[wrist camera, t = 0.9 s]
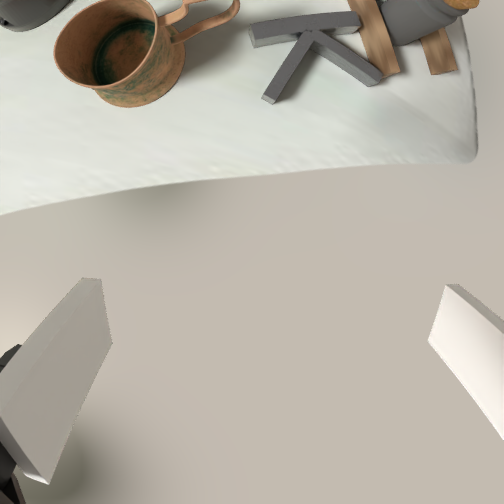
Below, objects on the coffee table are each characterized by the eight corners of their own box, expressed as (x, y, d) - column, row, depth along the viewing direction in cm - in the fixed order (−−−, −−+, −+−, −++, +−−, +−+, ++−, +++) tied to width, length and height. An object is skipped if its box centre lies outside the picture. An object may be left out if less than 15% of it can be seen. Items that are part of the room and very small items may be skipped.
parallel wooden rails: (333, -30, 26) (344, -46, 22) (399, -28, 26) (414, -41, 21) (374, 79, 31) (391, 72, 27) (437, 74, 31) (457, 69, 27)
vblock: (241, 35, 29) (242, 26, 26) (353, 19, 29) (362, 10, 26) (263, 106, 32) (266, 103, 29) (375, 86, 32) (386, 82, 29)
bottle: (416, 46, 30) (492, 17, 15) (378, 46, 30) (448, 8, 16) (403, 7, 28) (470, -34, 14) (365, 6, 28) (424, -46, 14)
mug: (248, 79, 31) (254, 47, 20) (99, 121, 31) (44, 115, 20) (227, -6, 27) (225, -60, 16) (86, 38, 28) (35, 8, 16)
